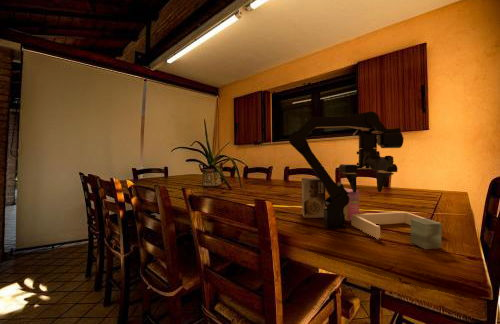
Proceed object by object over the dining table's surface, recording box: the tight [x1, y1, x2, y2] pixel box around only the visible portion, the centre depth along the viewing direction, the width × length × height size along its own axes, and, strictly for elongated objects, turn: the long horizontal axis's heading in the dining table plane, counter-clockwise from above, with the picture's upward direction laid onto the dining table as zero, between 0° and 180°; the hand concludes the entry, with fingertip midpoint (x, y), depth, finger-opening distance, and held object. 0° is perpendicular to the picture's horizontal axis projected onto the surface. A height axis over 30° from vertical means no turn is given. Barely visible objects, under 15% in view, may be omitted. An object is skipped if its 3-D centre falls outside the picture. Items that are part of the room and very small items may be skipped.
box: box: [343, 187, 360, 222], centre depth 94 cm, size 10×6×12 cm, turn 17°
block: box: [409, 217, 443, 250], centre depth 65 cm, size 5×5×7 cm
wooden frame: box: [350, 211, 440, 240], centre depth 78 cm, size 22×14×4 cm, turn 97°
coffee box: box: [301, 177, 327, 219], centre depth 96 cm, size 9×6×16 cm
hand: (367, 192), depth 80 cm, fingers open, 9 cm apart
